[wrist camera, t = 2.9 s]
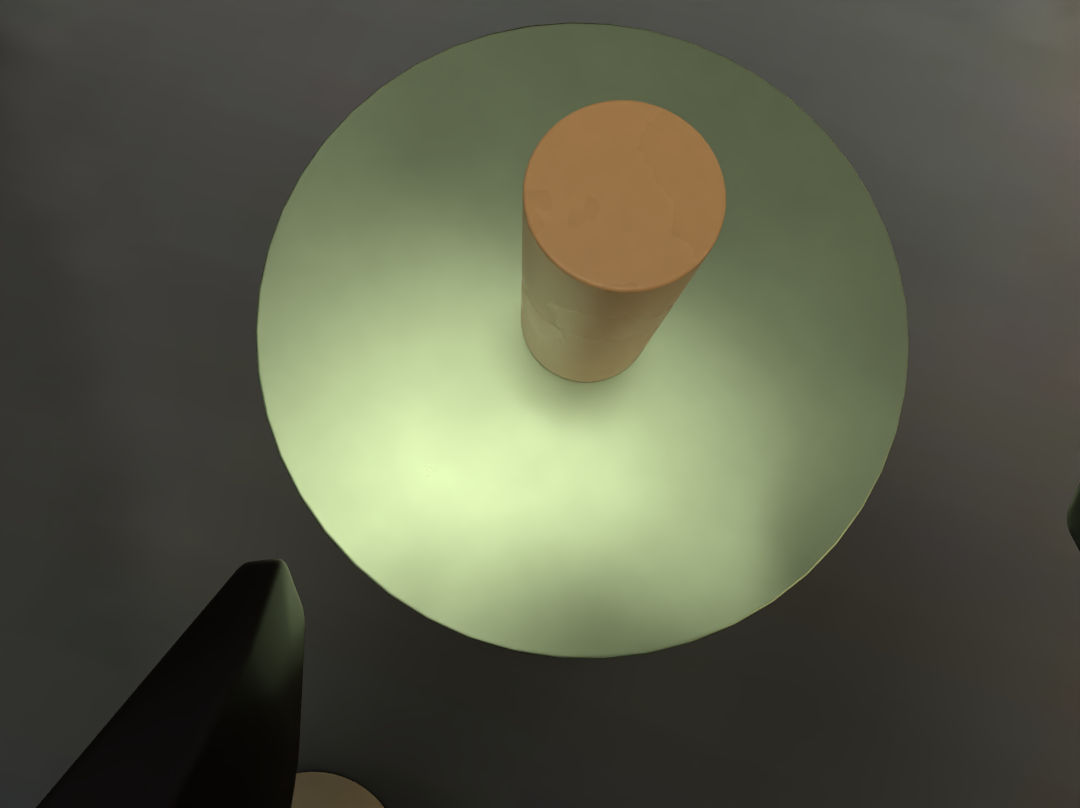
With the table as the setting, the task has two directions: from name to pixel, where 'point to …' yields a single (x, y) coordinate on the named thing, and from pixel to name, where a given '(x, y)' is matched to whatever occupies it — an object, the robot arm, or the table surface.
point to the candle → (330, 792)
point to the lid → (582, 340)
